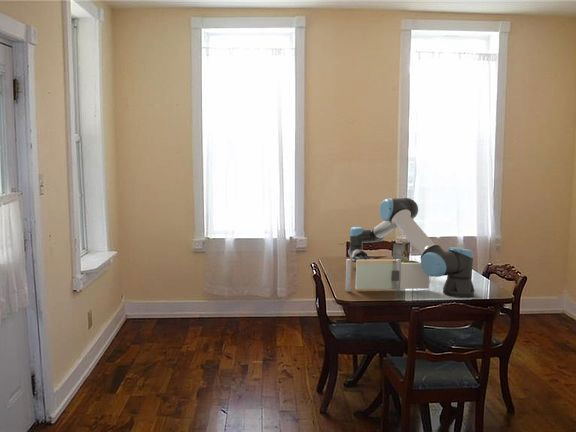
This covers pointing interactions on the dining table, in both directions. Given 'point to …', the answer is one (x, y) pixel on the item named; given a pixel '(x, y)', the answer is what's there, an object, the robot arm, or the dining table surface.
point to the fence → (400, 276)
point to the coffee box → (401, 251)
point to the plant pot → (409, 261)
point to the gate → (375, 274)
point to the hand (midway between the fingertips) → (370, 265)
